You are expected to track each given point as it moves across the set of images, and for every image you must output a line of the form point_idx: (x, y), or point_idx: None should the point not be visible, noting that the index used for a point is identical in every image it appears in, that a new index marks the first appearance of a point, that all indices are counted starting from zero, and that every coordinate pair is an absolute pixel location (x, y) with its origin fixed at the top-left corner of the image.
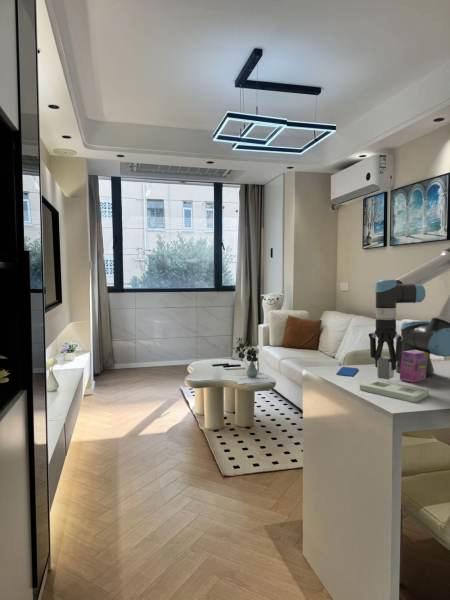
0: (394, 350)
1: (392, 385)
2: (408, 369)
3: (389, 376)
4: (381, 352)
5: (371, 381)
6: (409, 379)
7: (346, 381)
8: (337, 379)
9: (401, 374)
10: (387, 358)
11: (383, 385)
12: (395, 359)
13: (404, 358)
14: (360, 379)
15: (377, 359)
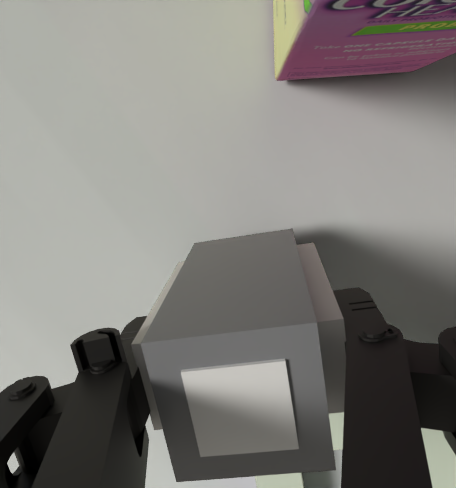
0: (427, 477)
1: (441, 454)
2: (408, 47)
3: None
4: (114, 431)
5: (270, 479)
6: (390, 69)
7: None
8: (12, 473)
9: (300, 72)
10: (297, 437)
11: None
12: (445, 437)
13: (381, 8)
14: None
15: (142, 424)
